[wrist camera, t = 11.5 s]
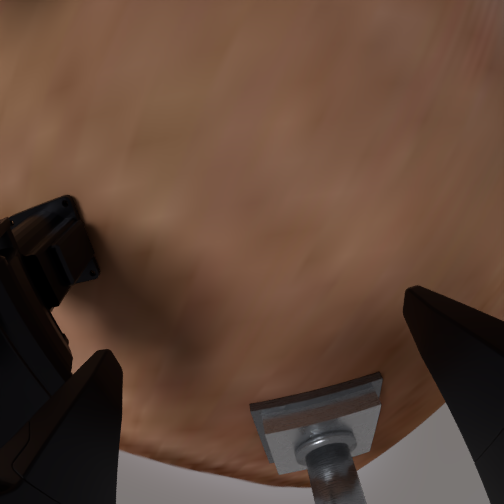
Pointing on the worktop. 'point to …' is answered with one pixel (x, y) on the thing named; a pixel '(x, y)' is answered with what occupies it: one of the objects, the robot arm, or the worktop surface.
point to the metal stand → (318, 418)
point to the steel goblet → (331, 468)
